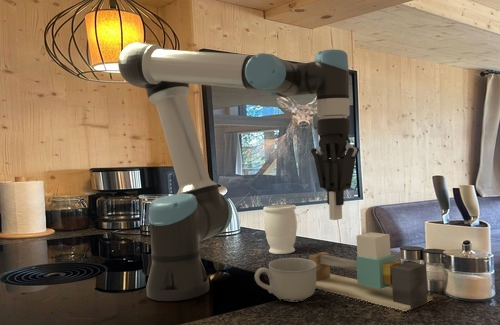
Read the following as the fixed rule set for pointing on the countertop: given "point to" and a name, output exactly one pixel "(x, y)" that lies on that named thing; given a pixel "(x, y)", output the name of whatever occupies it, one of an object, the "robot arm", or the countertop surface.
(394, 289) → the rail
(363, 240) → the sleeve
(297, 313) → the countertop surface
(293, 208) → the jar
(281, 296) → the teacup
